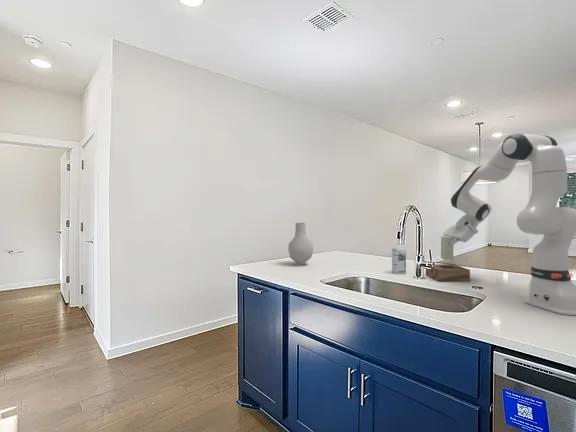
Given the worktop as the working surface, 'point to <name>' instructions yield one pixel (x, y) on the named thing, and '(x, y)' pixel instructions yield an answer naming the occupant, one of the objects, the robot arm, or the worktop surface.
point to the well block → (448, 273)
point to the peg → (446, 247)
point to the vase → (300, 246)
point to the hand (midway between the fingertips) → (447, 244)
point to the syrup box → (398, 260)
